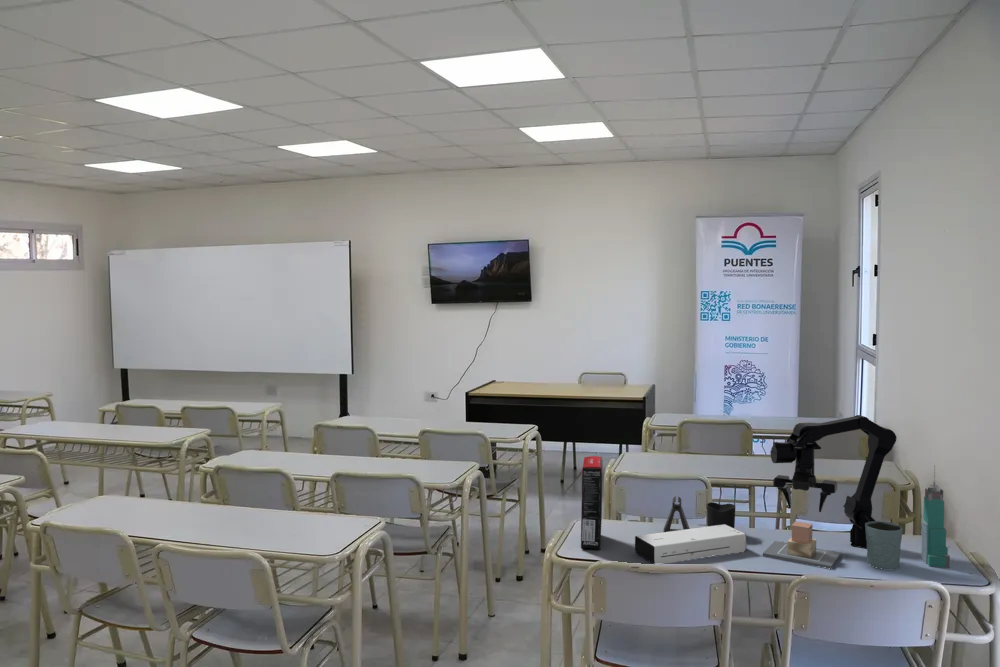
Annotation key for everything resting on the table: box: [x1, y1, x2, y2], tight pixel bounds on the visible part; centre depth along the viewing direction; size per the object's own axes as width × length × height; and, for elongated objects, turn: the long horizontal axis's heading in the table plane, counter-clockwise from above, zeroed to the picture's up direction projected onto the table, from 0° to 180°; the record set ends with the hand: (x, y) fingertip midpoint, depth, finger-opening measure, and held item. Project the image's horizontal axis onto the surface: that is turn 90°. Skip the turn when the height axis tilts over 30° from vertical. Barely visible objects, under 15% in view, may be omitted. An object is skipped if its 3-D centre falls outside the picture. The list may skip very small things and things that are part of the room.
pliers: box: [663, 496, 691, 532], centre depth 255 cm, size 9×6×12 cm, turn 75°
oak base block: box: [786, 536, 817, 558], centre depth 231 cm, size 7×7×4 cm
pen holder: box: [706, 501, 736, 529], centre depth 253 cm, size 9×9×10 cm
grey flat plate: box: [762, 540, 842, 570], centre depth 231 cm, size 20×14×1 cm
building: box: [921, 465, 951, 568], centre depth 223 cm, size 6×6×30 cm
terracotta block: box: [791, 521, 813, 544], centre depth 231 cm, size 5×5×5 cm
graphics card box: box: [580, 455, 603, 550], centre depth 245 cm, size 17×7×27 cm, turn 172°
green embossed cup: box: [865, 520, 903, 570], centre depth 223 cm, size 10×10×12 cm
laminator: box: [634, 524, 747, 564], centre depth 235 cm, size 34×12×6 cm, turn 110°
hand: (804, 509), depth 241 cm, fingers open, 9 cm apart
